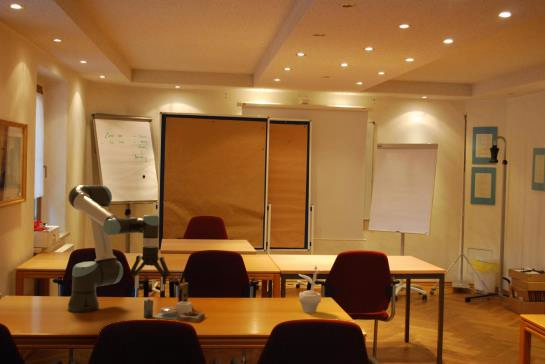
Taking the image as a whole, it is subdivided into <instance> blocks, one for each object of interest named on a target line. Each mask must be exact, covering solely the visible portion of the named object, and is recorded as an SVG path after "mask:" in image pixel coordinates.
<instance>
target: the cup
mask: <svg viewBox="0 0 545 364" xmlns="http://www.w3.org/2000/svg"><path fill="white" fill-rule="evenodd" d="M192 303H193V302H192V301H191V302H190V301H188V302H182V301H181V302H179V303H178V302H177V303H176V305H175V307H176V309H179V312H178V313H176V315H181V314H182V313H188V312H193V309H192V308H193V307H192V306H193V304H192ZM187 316H188V314H187Z"/></svg>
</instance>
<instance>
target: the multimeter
mask: <svg viewBox="0 0 545 364" xmlns="http://www.w3.org/2000/svg"><path fill="white" fill-rule="evenodd" d="M185 271H186V273H188V272H187V269H184V270H183V271H181V272H180V273H179V274H182V276H183V277H182V282H181V281H180V280H181V275H179V278H178V279H179V280H178V291H177V292H178V294H177V295H178V296H177V297H178V298H177V303H179V302H181V301H182V302H189V300H188V299H189V298H188V297H189V282H188V281H187V280H188V275H186V276H185ZM185 277H186V278H185ZM185 281H186V282H185ZM180 282H181V283H180ZM192 310H195V311H196V309H195V308H194V307H193V305H192Z"/></svg>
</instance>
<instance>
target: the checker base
mask: <svg viewBox="0 0 545 364" xmlns="http://www.w3.org/2000/svg"><path fill="white" fill-rule="evenodd" d="M178 316H179V315H176V314H162V313H160V312H159V313H157V314H155V315H153V317H152V319H153V318H154V319H160V320H169V321H170V320H171V321H178Z"/></svg>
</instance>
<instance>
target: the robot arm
mask: <svg viewBox="0 0 545 364" xmlns="http://www.w3.org/2000/svg"><path fill="white" fill-rule="evenodd" d="M67 199H68V202H69V204H70V205H71V207H73V208H74V209H75V210H77V211H82V212H83V213H84V214H85V215H86V216H88V217H90V222H91V229H92V237H93V241H94V250H95V256H96V258H95V259H94V261H82V262H79V263H76V264H74V265H73V267H72V273H71V277H72V279H71V280H72V282H71V284H72V285H71V295H70V298H69V301H68V303H67V310H68V311H70V312H73V313H89V312H94V311H97V310H99V309H100V302H99V300H98V297H97V287H102V286H109V285H110V286H111V285H114V284H117V283H119V282H120V281H121V279H122V278H123V274H124V267H123V265H122V263H121V262H120V261H118V259H117V256H116V255H114V253H113V252H114V251H113V247H112V246H113V245H112V240H111V239H112V238H111V236H114V235H115V236H116V235H127V234H142V246H143V247H142V255H140V254H138V255H137V256H136V257H135V261H134V264H133V265H132V266H131V269H130V271H129V274H130V275H132V276H133V279H132V281H133V283H134V290H137V289H139V285H140V275H139V273H140V272H141V271H142V269H143V268H144V267H145V266H150V267H151V266H153V267H154V268H155V269H156V270H157V271H158V273H159V274H160V276H161V277H160V292H163V291H165V285H166V284H167V277H169V276H171V274H170V273H171V272H170V270H169V269H168V266H167V264H166V261H165V257H164V256H160V257H159V237H160V236H159V235H160V233H159V232H160V231H159V230H160V218H159V217H160V216H159V215H157V214H144V215H143V217H136V216H134V217H133V216H131V217H128V218H126V217H125V218H120V217H118V216H116V215H115V214H113V212H110V211H109V209H110V205H111V204H112V200H113V195H112V192H111V190H110V189H109V188H108V187H107V185H104V184H103V185H101V184H80V185H79V184H78V185H76V186H74V187H73V188H71V190H70V191H69V194H68V197H67ZM141 260H142V263H141V264H140V262H141ZM158 261H159V262H160V263H159V262H158ZM139 264H140V265H139ZM138 265H139V266H138Z"/></svg>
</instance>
